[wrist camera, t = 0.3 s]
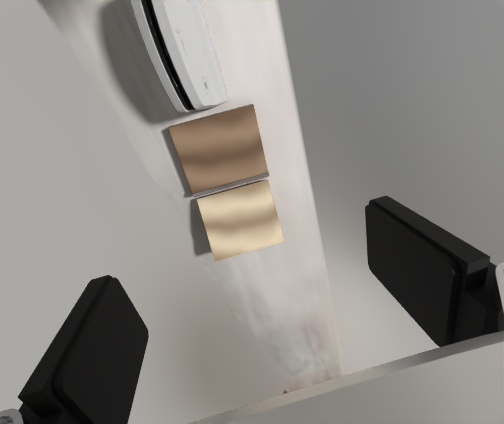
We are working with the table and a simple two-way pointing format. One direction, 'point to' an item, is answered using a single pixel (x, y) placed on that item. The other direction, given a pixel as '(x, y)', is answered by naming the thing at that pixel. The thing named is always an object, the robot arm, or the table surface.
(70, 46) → the table surface
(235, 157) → the walnut board
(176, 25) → the white curved device
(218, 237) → the oak plank
